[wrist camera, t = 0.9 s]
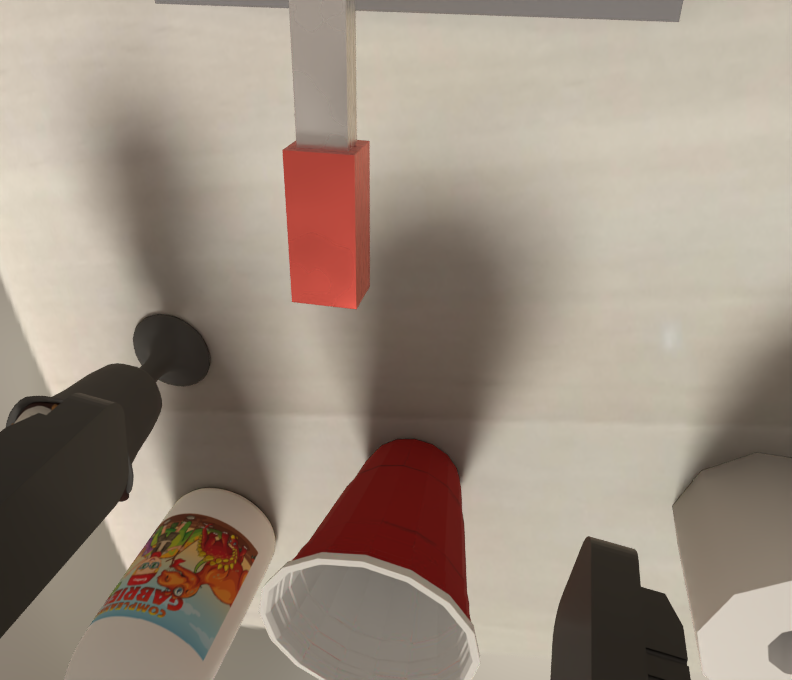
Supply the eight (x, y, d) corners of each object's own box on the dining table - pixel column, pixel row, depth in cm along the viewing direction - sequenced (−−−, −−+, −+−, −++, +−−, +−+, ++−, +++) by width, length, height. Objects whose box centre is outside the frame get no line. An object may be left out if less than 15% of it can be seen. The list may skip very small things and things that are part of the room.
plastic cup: (304, 495, 45) (227, 655, 35) (365, 374, 39) (295, 522, 29) (452, 567, 45) (420, 746, 35) (534, 457, 40) (523, 632, 29)
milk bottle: (300, 551, 48) (152, 884, 31) (219, 577, 51) (45, 892, 34) (233, 469, 45) (33, 782, 28) (153, 502, 48) (-71, 801, 31)
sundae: (111, 293, 40) (-99, 451, 28) (218, 309, 39) (51, 480, 26) (128, 387, 44) (-53, 567, 31) (227, 404, 43) (82, 597, 30)
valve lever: (276, -239, 17) (248, -259, 16) (377, -242, 17) (357, -263, 15) (304, 278, 24) (286, 301, 23) (375, 286, 24) (362, 309, 22)
